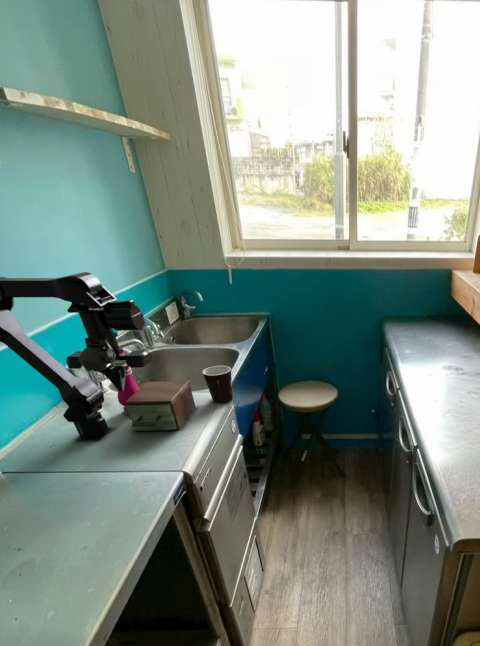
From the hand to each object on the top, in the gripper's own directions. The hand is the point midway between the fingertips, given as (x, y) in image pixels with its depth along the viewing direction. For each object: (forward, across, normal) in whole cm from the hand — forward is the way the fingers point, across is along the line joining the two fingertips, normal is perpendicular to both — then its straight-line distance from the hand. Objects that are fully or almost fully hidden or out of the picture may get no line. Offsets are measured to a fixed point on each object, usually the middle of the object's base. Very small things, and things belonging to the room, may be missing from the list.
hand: (121, 390), depth 103 cm
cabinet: (+13, +5, +9) cm, 17 cm away
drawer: (+12, +5, +5) cm, 14 cm away
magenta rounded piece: (+13, -7, +15) cm, 21 cm away
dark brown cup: (+13, +18, +21) cm, 31 cm away
